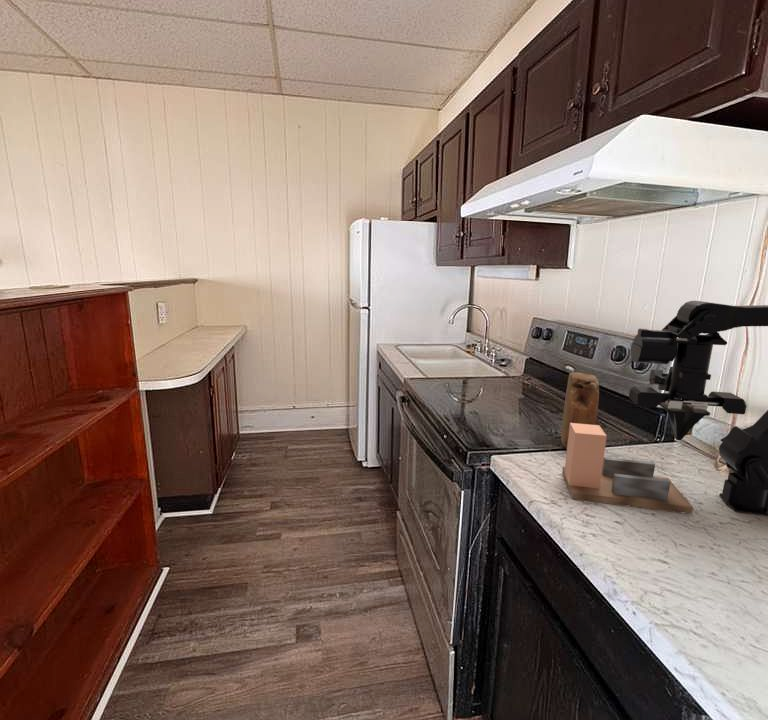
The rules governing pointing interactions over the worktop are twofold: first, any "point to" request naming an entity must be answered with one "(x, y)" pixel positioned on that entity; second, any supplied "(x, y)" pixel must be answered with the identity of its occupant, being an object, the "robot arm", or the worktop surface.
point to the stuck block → (585, 455)
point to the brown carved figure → (580, 402)
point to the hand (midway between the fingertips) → (677, 439)
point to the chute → (632, 487)
